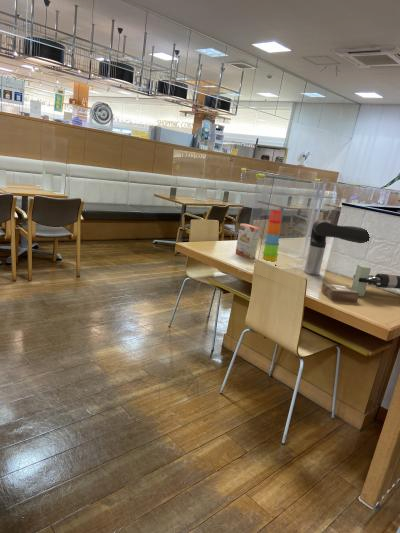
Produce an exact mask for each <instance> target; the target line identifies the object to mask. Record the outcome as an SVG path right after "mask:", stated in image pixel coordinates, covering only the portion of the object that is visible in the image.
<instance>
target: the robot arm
mask: <svg viewBox="0 0 400 533" xmlns="http://www.w3.org/2000/svg"><path fill="white" fill-rule="evenodd" d="M363 228H364V227H359V226H351V225H338V224H334V223H331V222H328V221H326V220H324V219H317V220H316V221H315V222H314V223H313V224H312V228H311V232H310V237H309V238H310V239H309V240H310V242H309V247H308V251H307V252H308V253H307V256H306V261H305V266H304V270H303V271H304V273H307V274H309V275H314V276H317V275H320V272H321V269H322V264H323V260H324V259H323V258H324V254H325V251H326V246H327V240H326V239H327V237H328V238H336V239H341V240H343V241H347V242H351V243H355V244H365V242H366V243H368V242H367V241H369V238H370V237H369V234H368V232H367V230H365V229H366V228H364V229H363ZM354 277H355V274H353V279H354ZM358 281H359V282H364V283H365V282H366V283H367V285H369V286H375V287H376V288H382V289H396V290H397V289H399V290H400V275H395V274H389V273H376V274H375V275H373V274H369V278H367V279H366V278H359V280H358Z"/></svg>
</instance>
